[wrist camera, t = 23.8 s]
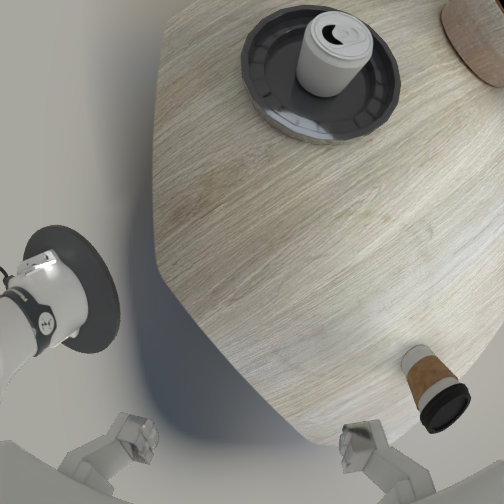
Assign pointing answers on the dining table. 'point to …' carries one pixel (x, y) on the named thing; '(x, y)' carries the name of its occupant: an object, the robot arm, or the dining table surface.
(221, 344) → the dining table surface
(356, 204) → the dining table surface
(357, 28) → the beverage can
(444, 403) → the coffee cup
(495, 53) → the planter
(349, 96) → the grey shallow round dish
